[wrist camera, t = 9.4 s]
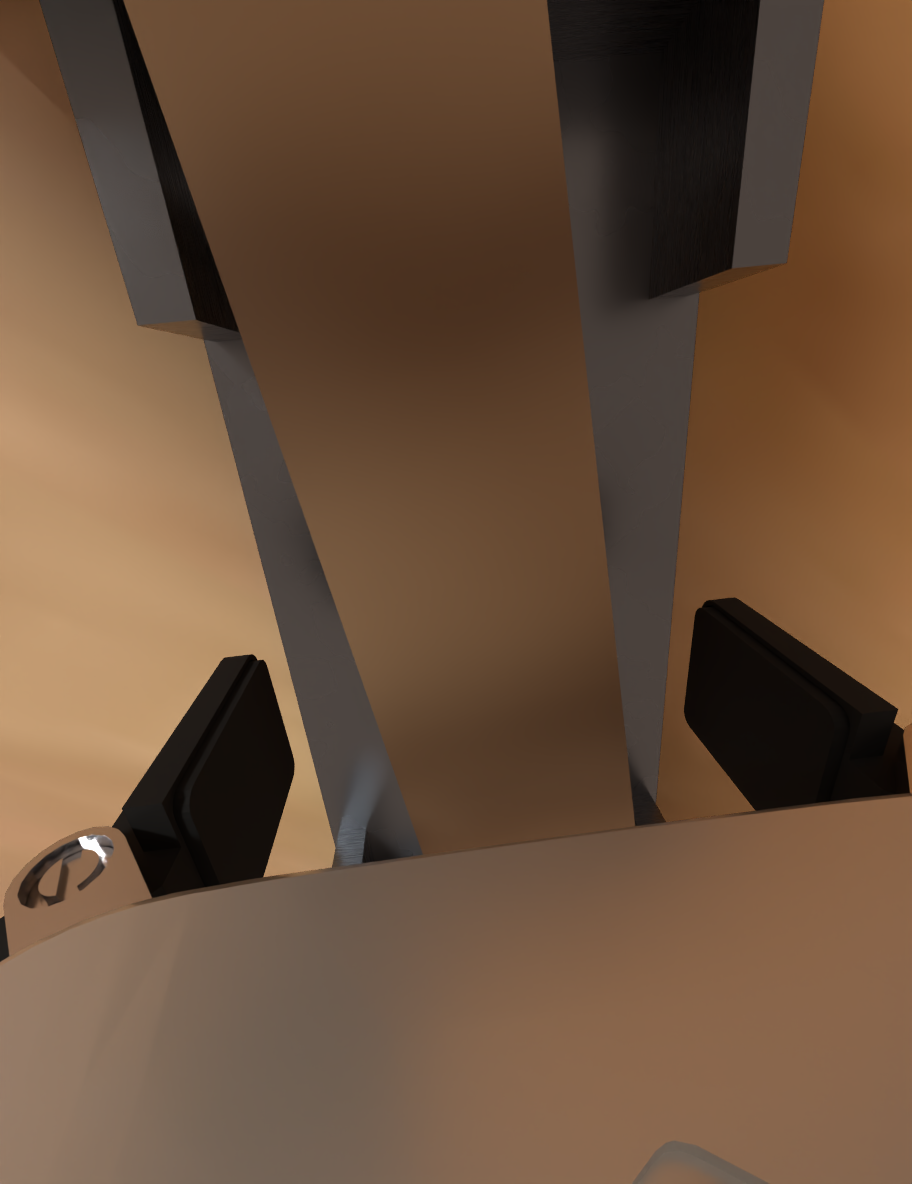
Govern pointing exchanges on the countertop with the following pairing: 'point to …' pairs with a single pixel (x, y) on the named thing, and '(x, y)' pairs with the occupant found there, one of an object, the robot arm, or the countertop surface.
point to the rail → (420, 375)
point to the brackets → (606, 298)
